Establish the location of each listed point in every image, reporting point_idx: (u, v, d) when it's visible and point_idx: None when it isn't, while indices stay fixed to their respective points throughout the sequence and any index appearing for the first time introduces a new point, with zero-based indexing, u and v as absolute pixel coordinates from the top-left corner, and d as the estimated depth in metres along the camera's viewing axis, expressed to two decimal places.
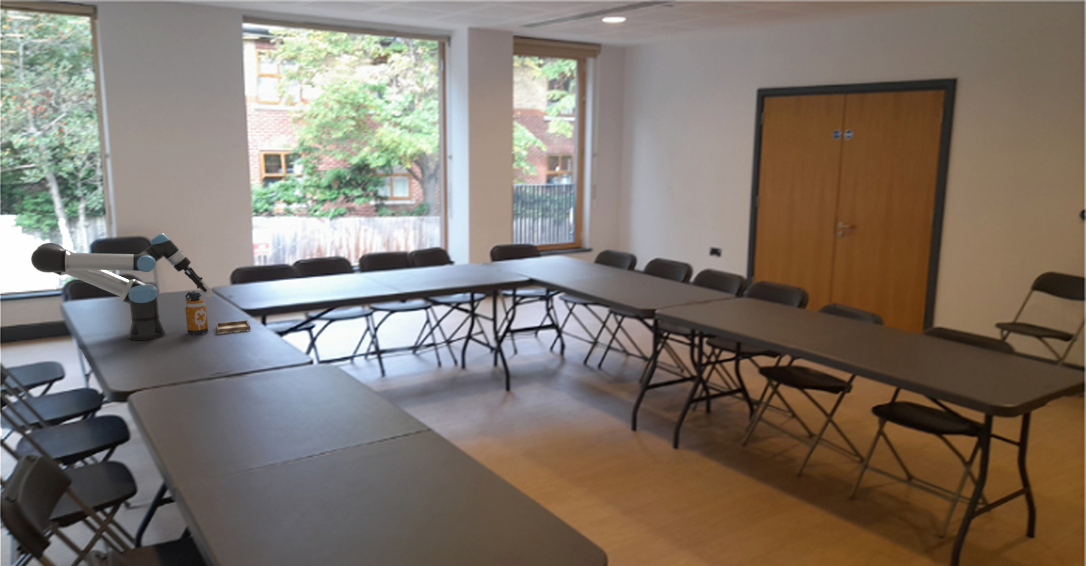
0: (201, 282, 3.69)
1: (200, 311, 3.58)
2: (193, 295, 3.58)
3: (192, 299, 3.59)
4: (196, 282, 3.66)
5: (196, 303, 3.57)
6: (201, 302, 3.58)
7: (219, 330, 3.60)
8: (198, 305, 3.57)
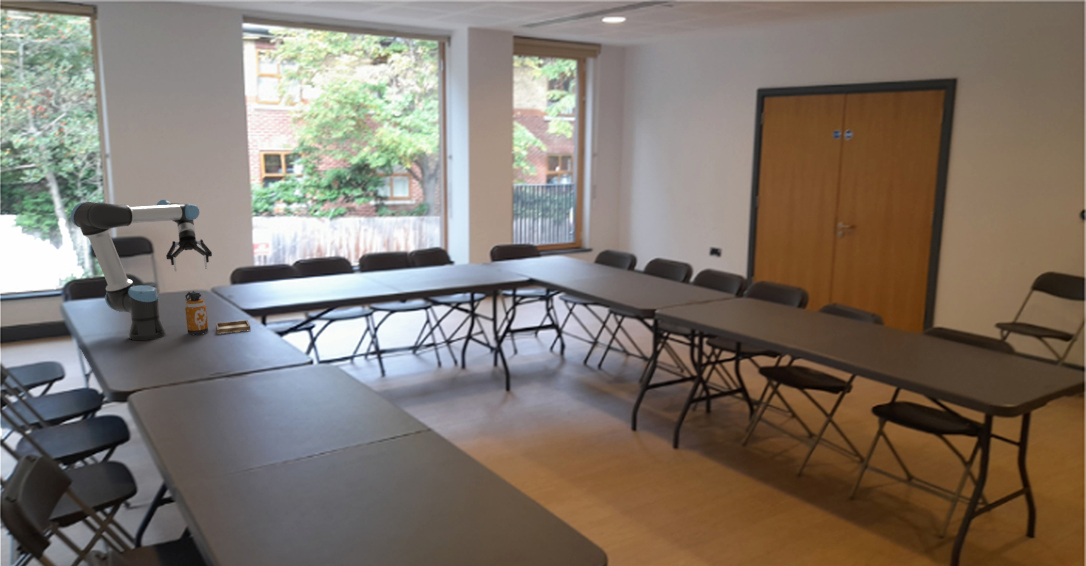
0: None
1: (200, 311, 3.58)
2: (193, 295, 3.58)
3: (192, 299, 3.59)
4: None
5: (196, 303, 3.57)
6: (201, 302, 3.58)
7: (219, 330, 3.60)
8: (198, 305, 3.57)
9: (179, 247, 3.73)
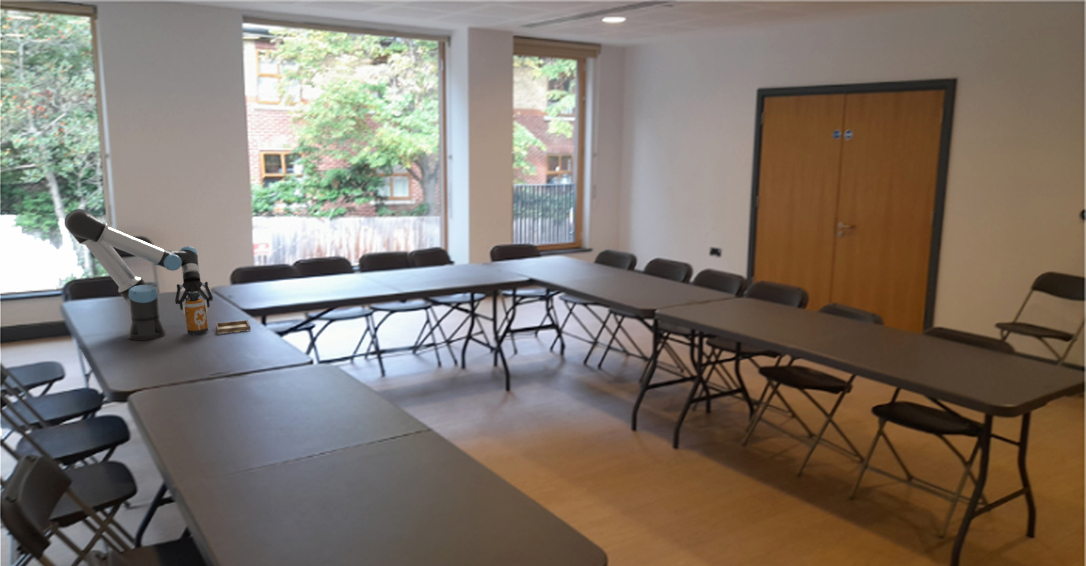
0: (205, 300, 3.66)
1: (199, 311, 3.57)
2: (192, 295, 3.57)
3: (191, 299, 3.58)
4: None
5: (195, 303, 3.56)
6: (200, 302, 3.58)
7: (219, 330, 3.60)
8: (197, 305, 3.57)
9: (185, 290, 3.62)
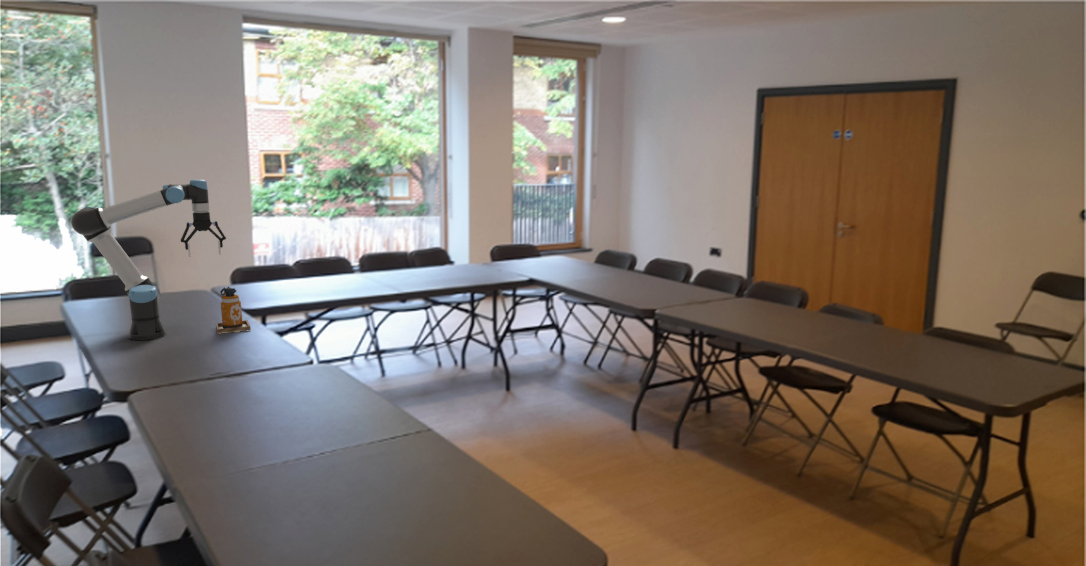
0: None
1: (235, 306, 3.63)
2: (228, 291, 3.64)
3: (227, 295, 3.64)
4: (223, 234, 3.75)
5: (232, 298, 3.62)
6: (236, 297, 3.64)
7: (219, 330, 3.60)
8: (233, 301, 3.63)
9: (193, 231, 3.68)
